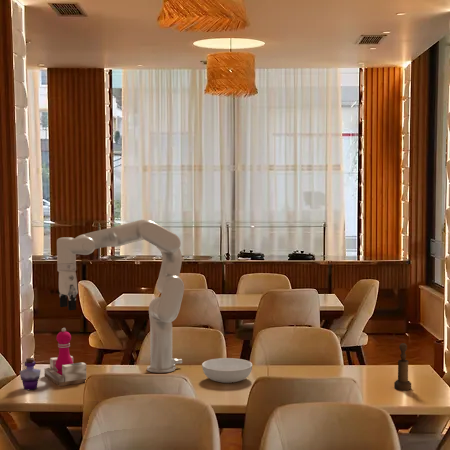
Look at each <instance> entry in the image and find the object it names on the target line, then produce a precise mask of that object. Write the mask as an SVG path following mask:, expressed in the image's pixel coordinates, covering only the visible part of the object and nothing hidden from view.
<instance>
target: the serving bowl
mask: <svg viewBox="0 0 450 450" xmlns="http://www.w3.org/2000/svg"><path fill="white" fill-rule="evenodd" d="M201 367H202V371H203V374H204V375H205V376H206V377H207V378H208V379H209V380H211V381H215V382H219V383H223V384H230V383H232V382H233V383H236V382H240V381H244V380H245V379H247V378H248V377H249V376H250V375H251V373H252V370H253V363H252V362H251V361H250V360H246V359H242V358H233V357H219V358H211V359H208V360H205V361H204V362H202V363H201ZM233 383H232V384H233Z"/></svg>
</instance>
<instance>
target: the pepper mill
mask: <svg viewBox="0 0 450 450" xmlns="http://www.w3.org/2000/svg"><path fill="white" fill-rule="evenodd" d="M55 339H56V341H57V342H58V343H57V347H58V355H57V357H58V358H57V361H56V368H57V370H58V371H57V373H59V374H60V375H62V365H67V364H73V363H74V360H73V361H72V358H71V356H72V355H71V354H70V347H71V343H70V342H71V340H72V335H71V333H70V332H69V331H67V329H66V327H63V328H61V331H59V332H58V333H57V335H56V338H55Z"/></svg>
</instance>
